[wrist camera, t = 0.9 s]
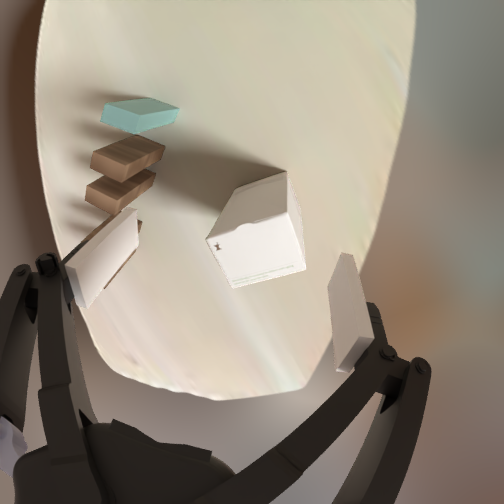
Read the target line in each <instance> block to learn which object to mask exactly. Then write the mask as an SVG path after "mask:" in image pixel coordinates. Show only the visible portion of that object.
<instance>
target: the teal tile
mask: <svg viewBox="0 0 504 504" xmlns="http://www.w3.org/2000/svg"><path fill="white" fill-rule="evenodd" d="M178 111H179V108H177V107H174V106H171V105H169V104H166V103H163V102H160V101H158V100H155V99H152V98H144V99H134V100H126V101H118V102H111V103H105V106H104V109H103V113H102V116H101V120H100V122H103V123H106V124H108V125H111V126H114V127H116V128H119V129H121V130H124V131H127V132H129V133H132V134H137V133H140V132H143V131H147V130H150V129H153V128H156V127H160V126H163V125H167V124H170V123H174V121H175V118H176V116H177V113H178Z"/></svg>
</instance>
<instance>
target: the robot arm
mask: <svg viewBox="0 0 504 504" xmlns="http://www.w3.org/2000/svg"><path fill="white" fill-rule="evenodd" d="M138 245H139V241H138V223H137V209H133V208H128V207H127V208H126V209H125V210H123V211H122V212H121V213H120V214H119V215H117V216H116V217H115V218H114V219H113V220H112V221H111V222H109V223H108V224H107V225H106V226H105V227H104V228H103V229H102V230H100V231H99V232H98V233H97V234H96V235H95V236H94V237H93V238H92V239H91V240H85V241H83V242H82V243H80V244H79V245H78V246H76V247H75V249H73V250H72V251H71V252H70V253H69V254H68V255H67V256H66V257H65V258H64V259H63V260H62V261H61V262H60V263H58V260H57V256H56V254H55V253H51V252H49V253H44V254H42V255H40V256H39V257H38V258H37V259H36V261H35V263H36V266H37V269H38V272H32V271H31V268H30V266H29V265H28V264H22V265H19V266H17V267H16V268H15V269H14V270H13V272H12V274H11V276H10V278H9V280H8V282H7V285H6V287H5V289H4V291H3V294H2V296H1V299H0V469H1V470H2V471H4V472H5V473H7V474H8V475H9V476H11V477H12V478H13V482H14V487H15V503H14V504H269V503H270V502H271V501H273V500H274V499H275V498H276V497H278V496H279V495H280V494H281V493H283V492H284V491H285V490H286V489H287V488H288V487H289V486H291V485H292V484H293V483H294V482H295V481H296V480H298V479H299V478H300V476H301V475H302V474H303V472H304V471H305V470H306V469H307V468H308V467H309V466H310V465H311V464H312V463H313V462H314V461H315V460H316V459H317V458H318V457H319V456H320V455H321V454H322V453H323V452H324V451H325V450H326V449H327V448H328V447H329V446H330V445H331V444H332V443H333V442H334V441H335V440H336V439H337V438H338V437H339V436H340V434H341V433H342V432H343V431H344V430H345V429H346V427H348V425H349V424H350V423H351V422H352V421H353V419H354V418H355V417H356V416H357V415H358V414H359V412H360V411H361V410H362V409H363V407H364V406H365V405H366V404H367V402H368V401H369V400H370V398H371V397H372V396H373V394H374V393H375V392H378V393H381V394H383V396H382V399H381V401H380V404H379V407H378V410H377V412H376V415H375V417H374V420H373V422H372V425H371V427H370V430H369V432H368V435H367V437H366V439H365V441H364V443H363V446H362V448H361V450H360V452H359V454H358V456H357V458H356V461H355V462H354V464H353V466H352V468H351V470H350V472H349V474H348V476H347V478H346V480H345V482H344V483H343V485H342V487H341V489H340V490H339V492H338V494H337V496H336V497H335V499H334V501H333V502H332V504H394V502H395V500H396V498H397V495H398V493H399V491H400V488H401V485H402V483H403V481H404V478H405V475H406V473H407V470H408V466H409V464H410V461H411V458H412V455H413V451H414V448H415V445H416V442H417V438H418V435H419V430H420V427H421V423H422V419H423V414H424V410H425V405H426V401H427V396H428V390H429V385H430V379H431V367H430V365H429V364H428V362H427V361H426V360H425V359H423V358H420V357H415V358H414V359H413V360H412V361H411V362H409V361H406V360H404V359H401V358H399V357H398V356H397V353H396V351H395V349H394V348H393V347H392V346H390V345H388V342H387V338H386V334H385V330H384V326H383V325H382V324H383V323H382V319H381V316H380V312H379V310H378V308H377V307H376V305H375V304H374V303H370V302H366V301H365V297H364V293H363V289H362V285H361V282H360V278H359V274H358V271H357V267H356V264H355V261H354V257H353V255H350V254H346V253H341V255H340V258H339V260H338V263H337V265H336V268H335V270H334V272H333V275H332V277H331V280H330V282H329V284H328V295H329V304H330V313H331V323H332V334H333V344H334V359H335V371H341V372H350V371H351V369H352V368H353V367H355V371H354V372H353V373H352V374H351V375H350V376H349V378H348V379H347V380H346V381H345V382H344V383H343V384H342V385H341V386H340V387H339V388H338V389H337V390H336V391H335V392H334V393H333V394H332V396H330V398H328V400H326V401H325V402H324V403H323V404H322V405H321V406H320V407H319V408H318V409H317V410H316V411H315V412H314V413H313V414H312V415H311V416H310V417H309V418H308V419H307V420H306V421H304V422H303V423H302V424H301V425H300V426H299V427H298V428H296V429H295V430H294V431H293V432H292V433H291V434H290V435H289V436H287V437H286V438H285V439H284V440H282V441H281V442H280V443H279V444H278V445H276V446H275V447H274V448H272V449H271V450H269V451H268V452H266V453H265V454H264V455H263V456H261V457H260V458H259V459H257V460H256V461H255V462H253V463H252V464H251V465H249V466H248V467H246V468H245V469H244V470H242V471H241V472H239V473H238V474H235V473H234V472H233V470H232V469H231V468H230V467H229V466H228V465H226V464H225V463H224V462H223V461H221V460H219V459H218V458H216V457H214V456H211V454H212V451H210V450H205V449H201V448H197V447H193V446H190V445H185V444H183V445H182V444H169V443H159V442H157V441H155V440H153V439H152V438H150V437H148V436H147V435H145V434H144V433H142V432H141V431H139V430H138V429H136V428H135V427H132V426H129V425H127V424H125V423H122V422H120V421H117V420H115V419H113V420H112V422H111V423H98V420H97V418H96V417H95V414H94V412H93V410H92V407H91V403H90V399H89V396H88V392H87V388H86V384H85V380H84V375H83V371H82V366H81V361H80V356H79V352H78V345H77V339H76V332H75V325H74V318H73V309H72V304H71V301H72V299H73V298H75V301H76V304H77V305H78V306H80V307H83V308H85V309H88V308H89V306H90V305H91V304H92V302H93V301H94V300H95V298H96V297H97V296H98V294H99V293H100V292H101V290H102V289H103V288H104V287H105V285H106V284H107V283H108V282H109V280H110V279H111V278H112V277H113V275H114V274H115V273H116V272H117V270H118V269H119V268H120V267H121V265H122V264H123V263H124V262H125V261H126V259H127V258H128V257H129V256H130V255H131V253H132V252H133V251H134V250H135V249H136V248H137V246H138ZM37 330H38V350H39V363H40V374H41V382H42V389H40V390H39V391H38V399H39V406H40V411H41V417H42V422H43V427H44V432H45V436H46V440H47V444H48V445H45V446H43V447H41V448H38V449H36V450H34V451H31V452H29V453H26V454H25V451H27V444H26V442H25V441H24V436H23V434H22V432H23V427H24V421H25V411H26V398H27V388H28V380H29V373H30V366H31V360H32V354H33V349H34V344H35V339H36V334H37Z"/></svg>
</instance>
